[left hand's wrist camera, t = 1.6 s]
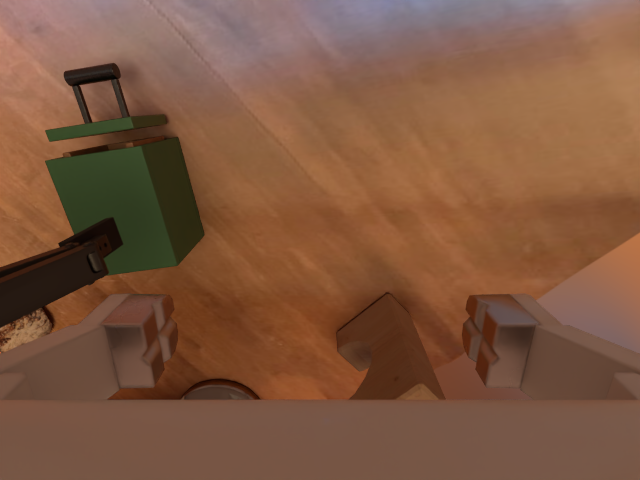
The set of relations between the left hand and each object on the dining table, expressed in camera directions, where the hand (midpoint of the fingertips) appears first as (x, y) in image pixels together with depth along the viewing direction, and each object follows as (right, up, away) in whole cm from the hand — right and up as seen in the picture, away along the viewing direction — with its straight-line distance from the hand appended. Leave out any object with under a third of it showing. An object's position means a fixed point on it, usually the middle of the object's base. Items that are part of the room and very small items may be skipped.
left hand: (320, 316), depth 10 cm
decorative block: (+8, -11, +49) cm, 51 cm away
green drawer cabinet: (-23, +9, +41) cm, 48 cm away
